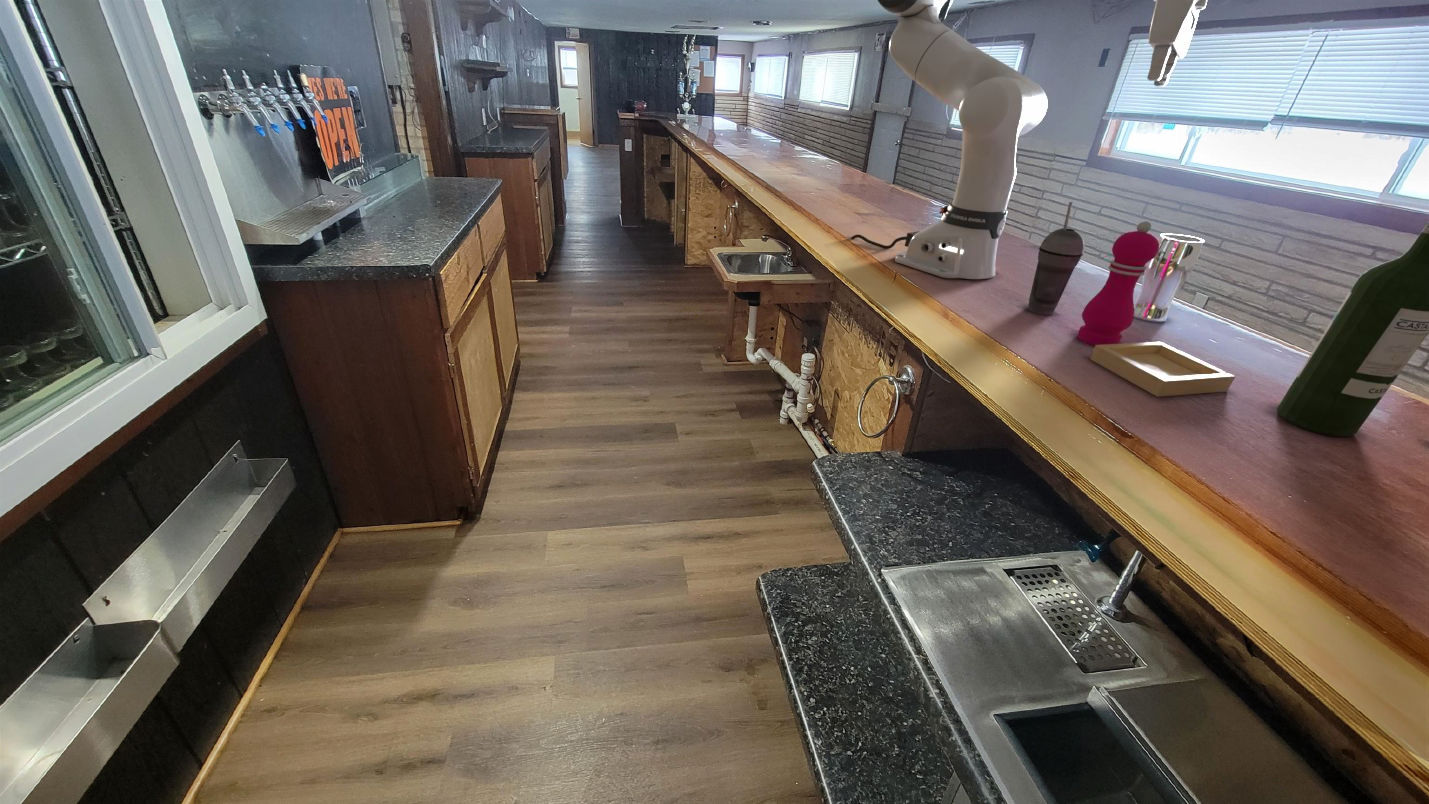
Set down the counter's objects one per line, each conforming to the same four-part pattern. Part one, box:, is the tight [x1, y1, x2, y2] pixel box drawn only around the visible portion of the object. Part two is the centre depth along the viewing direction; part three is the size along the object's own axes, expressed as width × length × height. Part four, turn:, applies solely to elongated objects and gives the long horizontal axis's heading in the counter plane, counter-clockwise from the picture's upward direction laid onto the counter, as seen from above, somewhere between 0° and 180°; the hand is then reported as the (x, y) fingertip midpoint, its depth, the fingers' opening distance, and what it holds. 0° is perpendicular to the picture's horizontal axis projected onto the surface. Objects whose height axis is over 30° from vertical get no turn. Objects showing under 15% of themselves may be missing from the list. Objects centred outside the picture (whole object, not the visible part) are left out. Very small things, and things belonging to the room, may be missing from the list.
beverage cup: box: [1027, 201, 1085, 316], centre depth 104 cm, size 7×7×20 cm
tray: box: [1089, 341, 1236, 398], centre depth 85 cm, size 12×12×2 cm
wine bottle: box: [1276, 221, 1429, 438], centre depth 67 cm, size 8×8×30 cm
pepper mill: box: [1076, 221, 1159, 347], centre depth 92 cm, size 7×7×20 cm
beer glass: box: [1133, 233, 1205, 323], centre depth 105 cm, size 7×7×15 cm
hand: (1156, 83), depth 96 cm, fingers open, 8 cm apart
